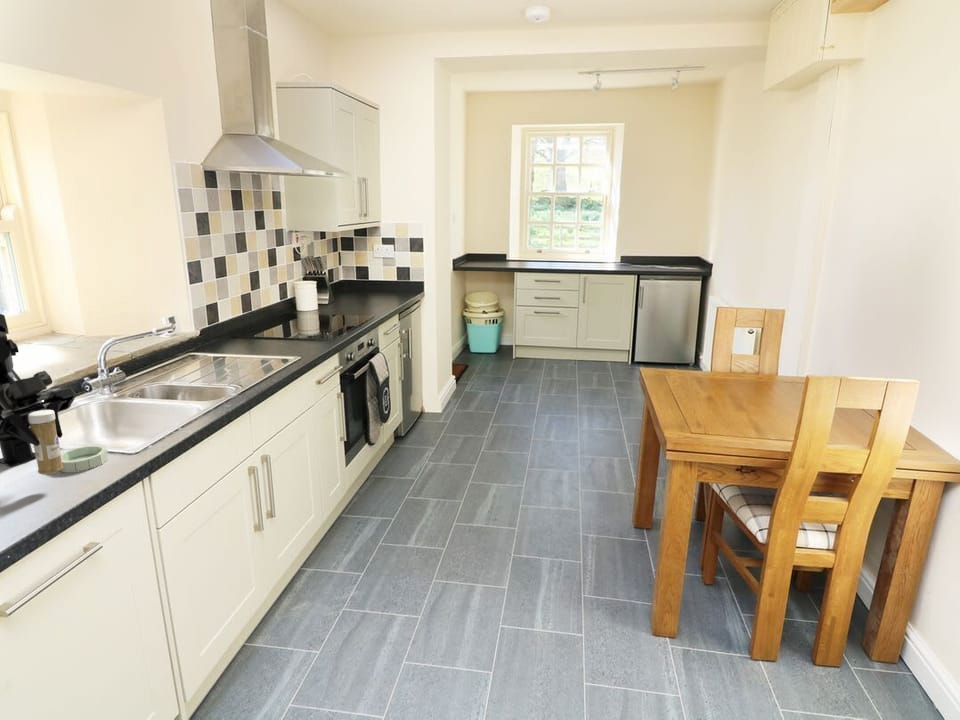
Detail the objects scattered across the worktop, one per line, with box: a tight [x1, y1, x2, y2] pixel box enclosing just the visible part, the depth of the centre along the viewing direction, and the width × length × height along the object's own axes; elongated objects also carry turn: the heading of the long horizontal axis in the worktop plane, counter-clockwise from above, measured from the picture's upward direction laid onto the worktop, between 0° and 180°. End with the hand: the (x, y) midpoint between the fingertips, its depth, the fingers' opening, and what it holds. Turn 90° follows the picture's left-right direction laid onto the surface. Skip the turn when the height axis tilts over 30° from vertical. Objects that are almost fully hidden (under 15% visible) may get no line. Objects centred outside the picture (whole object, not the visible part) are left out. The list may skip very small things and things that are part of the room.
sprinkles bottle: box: [28, 410, 63, 476], centre depth 124 cm, size 5×5×13 cm
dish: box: [60, 444, 109, 473], centre depth 139 cm, size 10×10×2 cm
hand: (49, 440), depth 124 cm, fingers closed on sprinkles bottle, 4 cm apart
